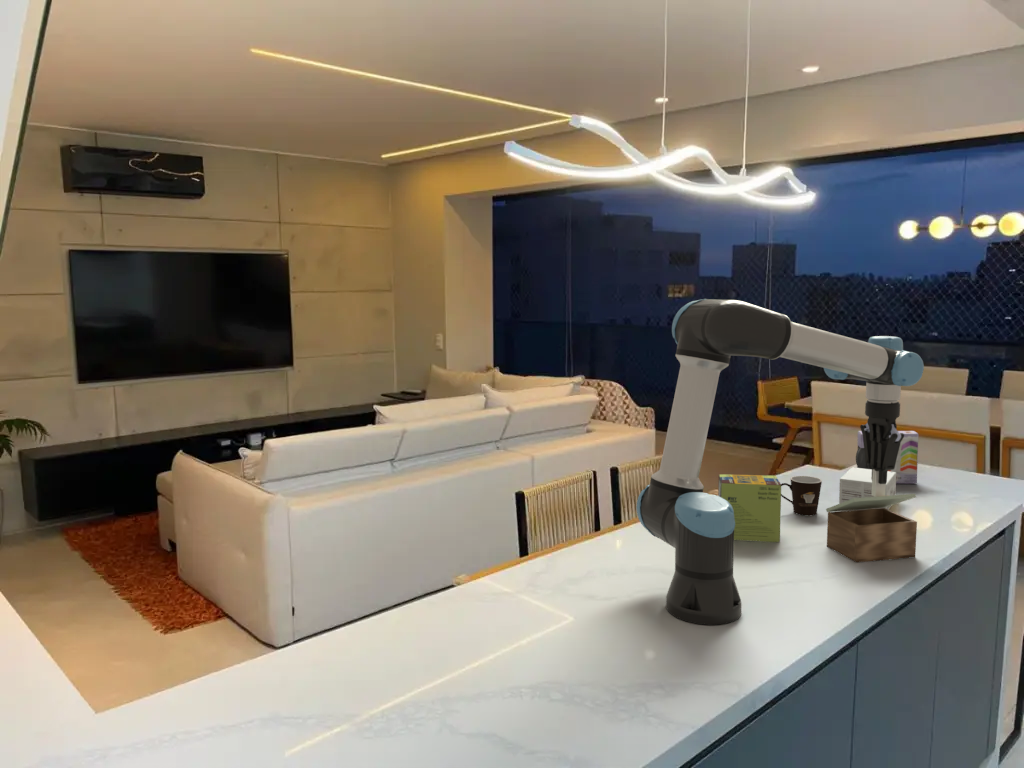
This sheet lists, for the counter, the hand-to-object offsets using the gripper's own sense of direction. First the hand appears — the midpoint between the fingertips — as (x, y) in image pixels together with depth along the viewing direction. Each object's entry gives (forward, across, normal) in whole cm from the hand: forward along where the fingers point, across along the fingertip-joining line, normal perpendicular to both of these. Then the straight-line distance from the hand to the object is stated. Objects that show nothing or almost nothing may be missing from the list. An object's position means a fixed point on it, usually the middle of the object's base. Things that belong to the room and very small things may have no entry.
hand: (878, 495), depth 183 cm
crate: (+15, +2, 0) cm, 15 cm away
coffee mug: (+16, +37, -2) cm, 40 cm away
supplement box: (+16, +39, -26) cm, 50 cm away
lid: (+3, +3, 0) cm, 4 cm away
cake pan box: (+16, +61, -49) cm, 79 cm away
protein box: (+16, +21, +23) cm, 35 cm away
